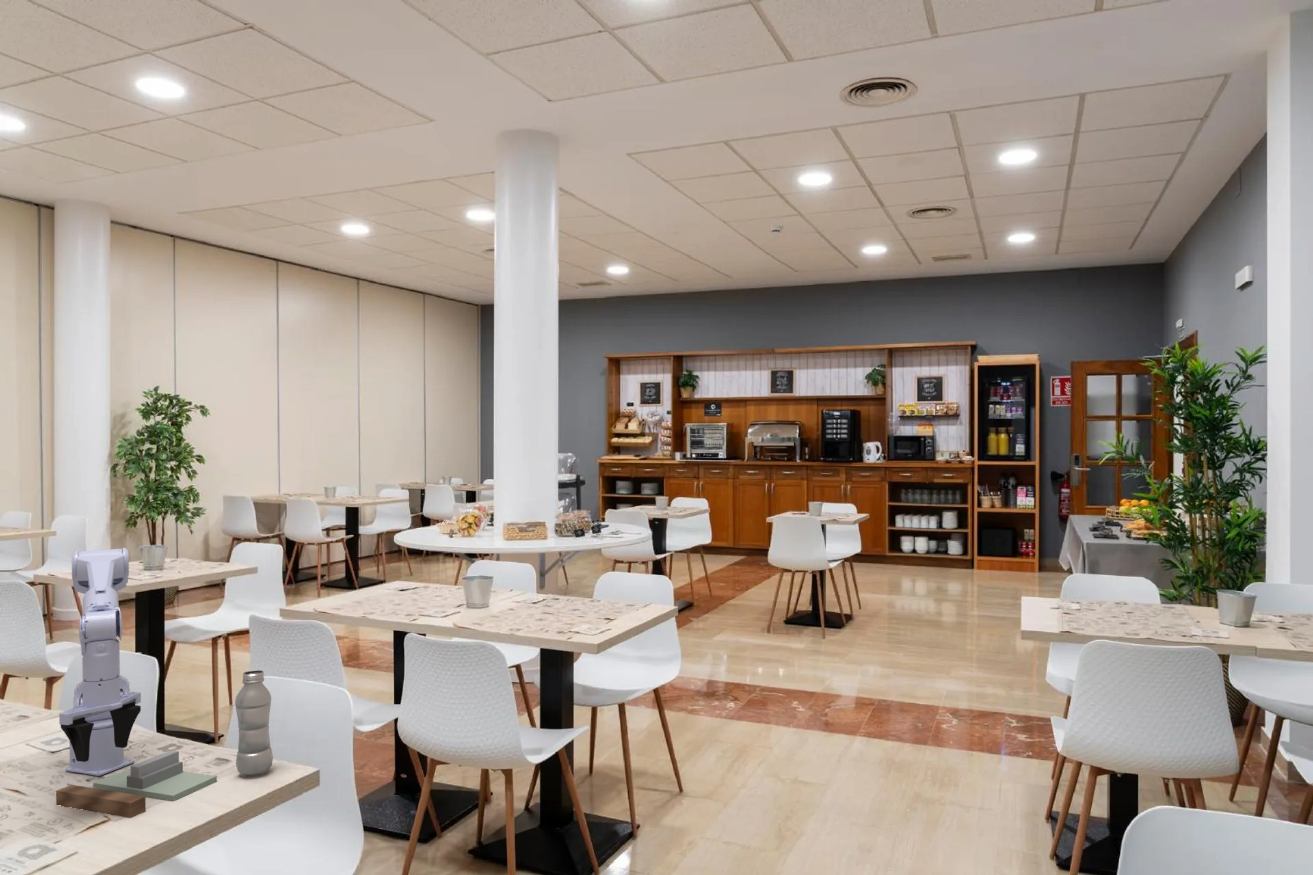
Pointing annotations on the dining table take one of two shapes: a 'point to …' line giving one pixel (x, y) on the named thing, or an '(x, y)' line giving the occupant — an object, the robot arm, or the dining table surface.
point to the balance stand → (157, 779)
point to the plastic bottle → (253, 725)
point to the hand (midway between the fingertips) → (102, 753)
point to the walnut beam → (101, 801)
